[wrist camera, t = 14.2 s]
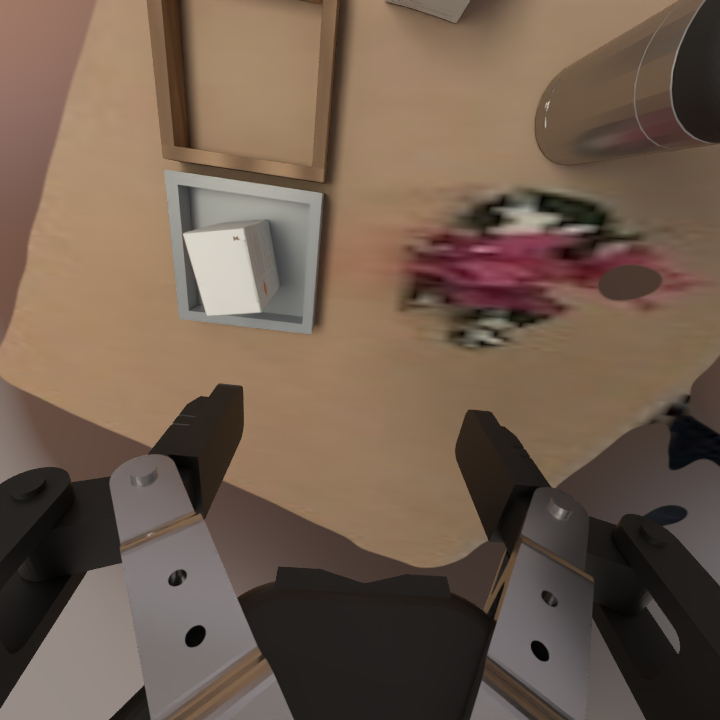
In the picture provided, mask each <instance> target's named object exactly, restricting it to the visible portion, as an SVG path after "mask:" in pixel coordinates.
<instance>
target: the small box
mask: <svg viewBox="0 0 720 720" xmlns="http://www.w3.org/2000/svg"><path fill="white" fill-rule="evenodd" d="M183 237H184V240H185V244H186V247H187V251H188V254H189V257H190V261H191V264H192V268H193V271H194V274H195V278H196V281H197V285H198V288H199V292H200V295H201V298H202V302H203V305H204V309H205V312H206V316H220V315H235V314H249V313H261V312H262V311H263V310H264V308H265V307H266V306H267V304H268V303H269V302H270V300H271V299H272V297H273V296H274V294H275V293H276V292H277V290H278V289H279V288H280V281H279V276H278V270H277V265H276V259H275V254H274V248H273V243H272V237H271V232H270V226H269V220H268V219H265V220H251V221H238V222H226V223H220V224H215V225H212V226H208V227H204V228H200V229H196V230H192V231H188V232H185V233H183Z"/></svg>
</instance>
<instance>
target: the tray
mask: <svg viewBox="0 0 720 720" xmlns="http://www.w3.org/2000/svg"><path fill="white" fill-rule="evenodd" d="M164 173H165V183H166V193H167V203H168V212H169V222H170V232H171V242H172V251H173V261H174V271H175V281H176V291H177V300H178V310H179V319H183V320H192V321H201V322H209V323H218V324H227V325H235V326H244V327H253V328H261V329H270V330H279V331H287V332H296V333H305V334H312V330H313V327H314V320H315V307H316V295H317V282H318V270H319V257H320V245H321V232H322V220H323V207H324V195H325V193H319V192H312V191H305V190H299V189H292V188H285V187H279V186H272V185H265V184H259V183H252V182H245V181H238V180H232V179H225V178H218V177H212V176H205V175H198V174H192V173H185V172H178V171H171V170H164ZM265 219H268V220H269V226H270V232H271V237H272V243H273V248H274V254H275V259H276V265H277V270H278V276H279V281H280V288H279V289H278V290H277V292H276V293H275V294H274V296H273V297H272V299H271V300H270V302H269V303H268V304H267V306H266V307H265V308H264V310H263V311H262V312H261V313H249V314H235V315H220V316H206V312H205V309H204V305H203V302H202V298H201V295H200V292H199V288H198V285H197V281H196V278H195V274H194V271H193V268H192V264H191V261H190V257H189V254H188V251H187V247H186V244H185V240H184V237H183V233H185V232H188V231H192V230H196V229H200V228H204V227H208V226H212V225H215V224H220V223H226V222H238V221H251V220H265Z"/></svg>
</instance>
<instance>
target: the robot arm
mask: <svg viewBox="0 0 720 720" xmlns="http://www.w3.org/2000/svg"><path fill="white" fill-rule="evenodd" d="M535 133H536V139H537V142H538V145H539V147H540V149H541V151H542V152H543V153H544V155H545V156H546V157H547V158H549V159H550V160H551V161H553V162H555V163H558V164H562V165H573V164H581V163H588V162H596V161H603V160H610V159H617V158H624V157H631V156H638V155H645V154H653V153H660V152H667V151H674V150H681V149H686V148H693V147H700V146H707V145H714V144H720V0H679V1H677V2H676V3H674V4H672V5H670V6H669V7H667V8H665V9H664V10H662V11H660V12H659V13H657V14H655V15H654V16H652V17H650V18H649V19H647V20H645V21H644V22H642V23H640V24H639V25H637V26H635V27H634V28H632V29H630V30H629V31H627V32H625V33H624V34H622V35H620V36H619V37H617V38H615V39H614V40H612V41H610V42H609V43H607V44H605V45H604V46H602V47H600V48H598V49H597V50H595V51H593V52H592V53H590V54H588V55H587V56H585V57H584V58H582V59H580V60H579V61H577V62H575V63H574V64H572V65H570V66H569V67H567V68H565V69H564V70H563V71H562V72H561V73H559V74H558V75H557V76H556V77H555V78H554V80H553V81H552V82H551V83H550V84H549V86H548V87H547V89H546V91H545V92H544V94H543V96H542V98H541V101H540V103H539V106H538V109H537V114H536V119H535ZM243 427H244V408H243V387H242V386H239V385H230V384H218V385H217V386H216V388H215V389H214V390H213V392H212V393H211V395H210V396H209V397H203V396H200V397H198V398H197V399H195V400H193V401H192V402H190V403H189V404H187V405H186V407H185V408H184V409H183V410H182V412H181V413H180V414H179V416H178V417H177V418H176V419H175V420H174V422H173V425H171V426H170V427H169V428H168V429H167V431H166V432H165V433H164V434H163V436H162V437H161V438H160V440H159V441H158V442H157V443H156V445H155V446H154V447H153V448H152V450H151V451H150V452H149V454H148V455H144V456H140V457H137V458H134V459H131V460H130V461H127V462H126V463H124V464H122V465H121V466H120V467H118V468H117V469H116V470H115V472H114V473H113V474H112V476H110V477H104V478H98V479H91V480H85V481H78V482H71V479H70V476H69V474H68V472H67V471H65V470H63V469H61V468H56V467H45V468H38V469H33V470H29V471H26V472H23V473H20V474H18V475H16V476H13V477H12V478H10V479H8V480H6V481H4V482H3V483H1V484H0V708H1V707H2V705H3V703H4V702H5V700H6V699H7V697H8V696H9V694H10V692H11V691H12V689H13V688H14V686H15V685H16V683H17V681H18V680H19V678H20V676H21V675H22V674H23V672H24V670H25V669H26V667H27V666H28V664H29V662H30V661H31V659H32V658H33V656H34V655H35V653H36V651H37V650H38V648H39V647H40V645H41V643H42V642H43V640H44V639H45V637H46V636H47V634H48V633H49V631H50V629H51V628H52V626H53V625H54V623H55V622H56V620H57V618H58V617H59V615H60V614H61V612H62V611H63V609H64V607H65V606H66V604H67V603H68V601H69V600H70V598H71V596H72V595H73V593H74V592H75V590H76V589H77V587H78V585H79V584H80V582H81V580H82V579H83V578H84V576H85V574H86V573H87V571H89V570H93V569H97V568H102V567H106V566H110V565H114V564H119V563H122V564H123V569H124V575H125V580H126V586H127V591H128V596H129V602H130V607H131V613H132V618H133V624H134V630H135V635H136V640H137V645H138V652H139V657H140V663H141V668H142V674H143V679H144V686H143V687H142V688H141V689H140V690H139V691H138V692H137V693H136V694H135V695H134V696H133V697H132V698H131V699H130V700H129V701H128V702H127V703H126V704H125V705H124V706H123V707H122V708H121V709H120V710H119V711H117V713H115V714H114V716H112V717H111V718H110V719H109V720H586V705H587V689H588V673H589V656H590V640H591V625H592V618H593V620H594V621H595V623H596V625H597V627H598V629H599V631H600V633H601V635H602V637H603V639H604V641H605V643H606V644H607V646H608V648H609V650H610V652H611V654H612V656H613V658H614V660H615V661H616V663H617V665H618V667H619V669H620V671H621V673H622V675H623V677H624V679H625V681H626V683H627V685H628V686H629V688H630V690H631V692H632V694H633V696H634V698H635V700H636V702H637V704H638V705H639V707H640V709H641V711H642V713H643V715H644V717H645V719H646V720H720V586H719V585H718V584H717V582H716V581H715V580H714V579H713V578H712V577H711V576H710V575H709V574H708V572H707V571H706V570H705V569H704V568H703V567H702V566H701V565H700V564H699V562H698V561H697V560H696V559H695V558H694V557H693V556H692V555H691V553H690V552H689V551H688V550H687V549H686V548H685V547H684V546H683V545H682V543H681V542H680V541H679V540H678V539H677V538H676V537H675V536H674V535H673V534H672V533H670V532H669V531H668V530H667V529H665V528H664V527H663V526H661V525H659V524H658V523H656V522H654V521H652V520H650V519H648V518H646V517H643V516H640V515H635V514H627V515H624V516H623V517H622V518H621V520H620V521H619V523H618V524H617V525H614V524H611V523H608V522H605V521H602V520H599V519H596V518H593V517H590V516H588V514H587V512H586V510H585V509H584V507H583V506H582V505H581V504H580V503H579V502H578V501H577V500H575V499H574V498H573V497H571V496H570V495H568V494H566V493H564V492H562V491H560V490H558V489H555V488H551V486H550V485H549V483H548V482H547V480H546V479H545V477H544V476H543V475H542V473H541V472H540V470H539V469H538V467H537V466H536V464H535V463H534V461H533V460H532V459H531V458H530V456H529V454H528V453H527V451H526V450H525V449H523V448H524V447H523V446H522V444H521V443H520V441H519V440H518V438H517V437H516V436H515V435H514V434H513V433H511V432H510V431H509V430H508V429H507V428H505V427H503V426H500V424H499V423H498V421H497V420H496V418H495V417H494V415H493V414H492V412H490V411H480V410H468V411H467V413H466V415H465V418H464V421H463V424H462V427H461V430H460V433H459V436H458V439H457V443H456V448H455V454H456V460H457V463H458V465H459V468H460V470H461V473H462V475H463V478H464V480H465V483H466V485H467V488H468V490H469V493H470V495H471V498H472V500H473V503H474V505H475V508H476V510H477V513H478V515H479V518H480V520H481V523H482V525H483V528H484V530H485V533H486V535H487V538H488V540H489V542H502V543H504V544H505V546H506V548H507V549H506V551H505V553H504V555H503V558H502V560H501V563H500V566H499V569H498V572H497V575H496V577H495V580H494V583H493V586H492V589H491V592H490V595H489V597H488V600H487V603H486V606H485V608H484V611H483V610H481V609H480V608H479V607H477V606H476V605H475V604H473V603H471V602H470V601H468V600H466V599H465V598H462V597H461V596H458V595H456V594H454V593H451V592H450V589H449V585H448V581H447V577H443V576H426V575H410V574H406V575H401V576H397V577H392V578H388V579H383V580H379V581H374V582H370V583H361V582H358V581H355V580H352V579H349V578H346V577H343V576H340V575H337V574H333V573H331V572H327V571H325V570H322V569H308V568H293V567H278V571H277V576H276V581H275V582H270V583H267V584H264V585H261V586H258V587H255V588H253V589H251V590H249V591H247V592H245V593H243V594H242V595H240V596H239V597H236V594H235V592H234V590H233V587H232V585H231V583H230V580H229V578H228V576H227V573H226V571H225V569H224V566H223V564H222V562H221V559H220V557H219V554H218V552H217V550H216V547H215V545H214V543H213V541H212V538H211V535H210V533H209V531H208V528H207V526H206V524H205V521H204V520H205V518H206V515H207V513H208V511H209V509H210V507H211V504H212V502H213V500H214V498H215V495H216V493H217V491H218V489H219V487H220V484H221V482H222V480H223V478H224V476H225V473H226V471H227V469H228V467H229V465H230V462H231V460H232V458H233V456H234V454H235V451H236V449H237V447H238V445H239V442H240V440H241V437H242V433H243ZM653 598H654V600H655V601H656V603H657V604H658V606H659V607H660V608H661V610H662V611H663V613H664V614H665V616H666V617H667V618H668V620H669V621H670V623H671V624H672V625H673V627H674V629H675V630H676V632H677V634H678V637H679V641H680V652H679V654H677V652H676V651H675V649H674V648H673V646H672V645H671V643H670V642H669V640H668V639H667V637H666V636H665V634H664V633H663V631H662V630H661V628H660V627H659V625H658V624H657V622H656V621H655V619H654V618H653V617H652V615H651V614H650V612H649V610H648V609H647V607H646V606H647V605H648V604H649V602H650V601H651V600H652V599H653Z"/></svg>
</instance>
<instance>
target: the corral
mask: <svg viewBox="0 0 720 720" xmlns="http://www.w3.org/2000/svg"><path fill="white" fill-rule="evenodd" d="M302 1H307V2H312V3H317V4H322V5H323V9H322V24H321V40H320V55H319V71H318V87H317V102H316V118H315V134H314V149H313V165H312V167H306V166H300V165H293V164H287V163H280V162H274V161H268V160H261V159H255V158H248V157H242V156H235V155H229V154H222V153H216V152H209V151H203V150H197V149H190V148H189V138H188V124H187V110H186V96H185V82H184V68H183V55H182V41H181V27H180V13H179V0H147V7H148V17H149V27H150V36H151V46H152V56H153V66H154V75H155V85H156V95H157V105H158V115H159V124H160V134H161V144H162V154H163V158H165V159H170V160H175V161H180V162H186V163H193V164H200V165H206V166H213V167H219V168H226V169H233V170H239V171H246V172H252V173H259V174H266V175H272V176H279V177H285V178H292V179H299V180H305V181H312V182H318V183H325V182H326V170H327V157H328V145H329V132H330V120H331V107H332V95H333V82H334V70H335V57H336V45H337V32H338V20H339V7H340V0H302Z"/></svg>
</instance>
